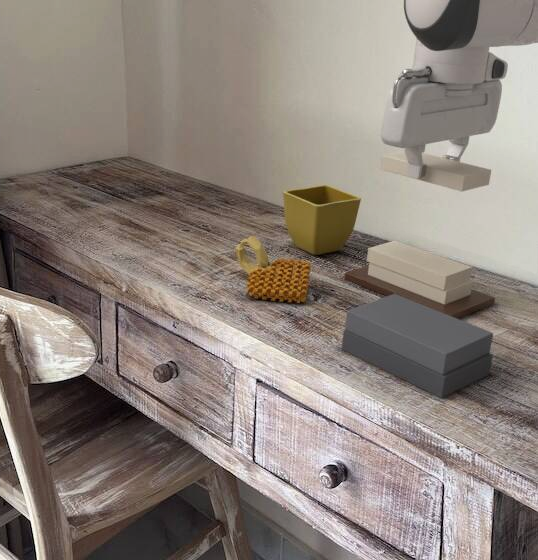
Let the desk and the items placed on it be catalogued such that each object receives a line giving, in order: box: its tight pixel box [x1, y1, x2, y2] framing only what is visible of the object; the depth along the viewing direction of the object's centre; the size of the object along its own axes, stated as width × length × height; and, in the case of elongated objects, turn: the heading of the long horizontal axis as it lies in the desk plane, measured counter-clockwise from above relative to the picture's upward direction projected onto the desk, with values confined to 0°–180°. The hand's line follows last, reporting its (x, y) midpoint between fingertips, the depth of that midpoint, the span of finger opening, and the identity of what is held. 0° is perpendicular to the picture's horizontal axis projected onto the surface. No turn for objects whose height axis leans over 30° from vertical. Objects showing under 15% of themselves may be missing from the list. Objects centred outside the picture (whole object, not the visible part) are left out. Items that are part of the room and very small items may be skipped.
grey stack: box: [341, 294, 494, 399], centre depth 92 cm, size 14×9×5 cm, turn 40°
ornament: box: [234, 235, 312, 304], centre depth 112 cm, size 7×10×15 cm
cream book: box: [379, 150, 492, 193], centre depth 106 cm, size 13×6×2 cm, turn 40°
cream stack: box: [344, 240, 496, 320], centre depth 112 cm, size 18×10×5 cm, turn 40°
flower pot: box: [282, 184, 362, 256], centre depth 126 cm, size 9×9×9 cm
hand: (433, 173), depth 107 cm, fingers closed on cream book, 6 cm apart
